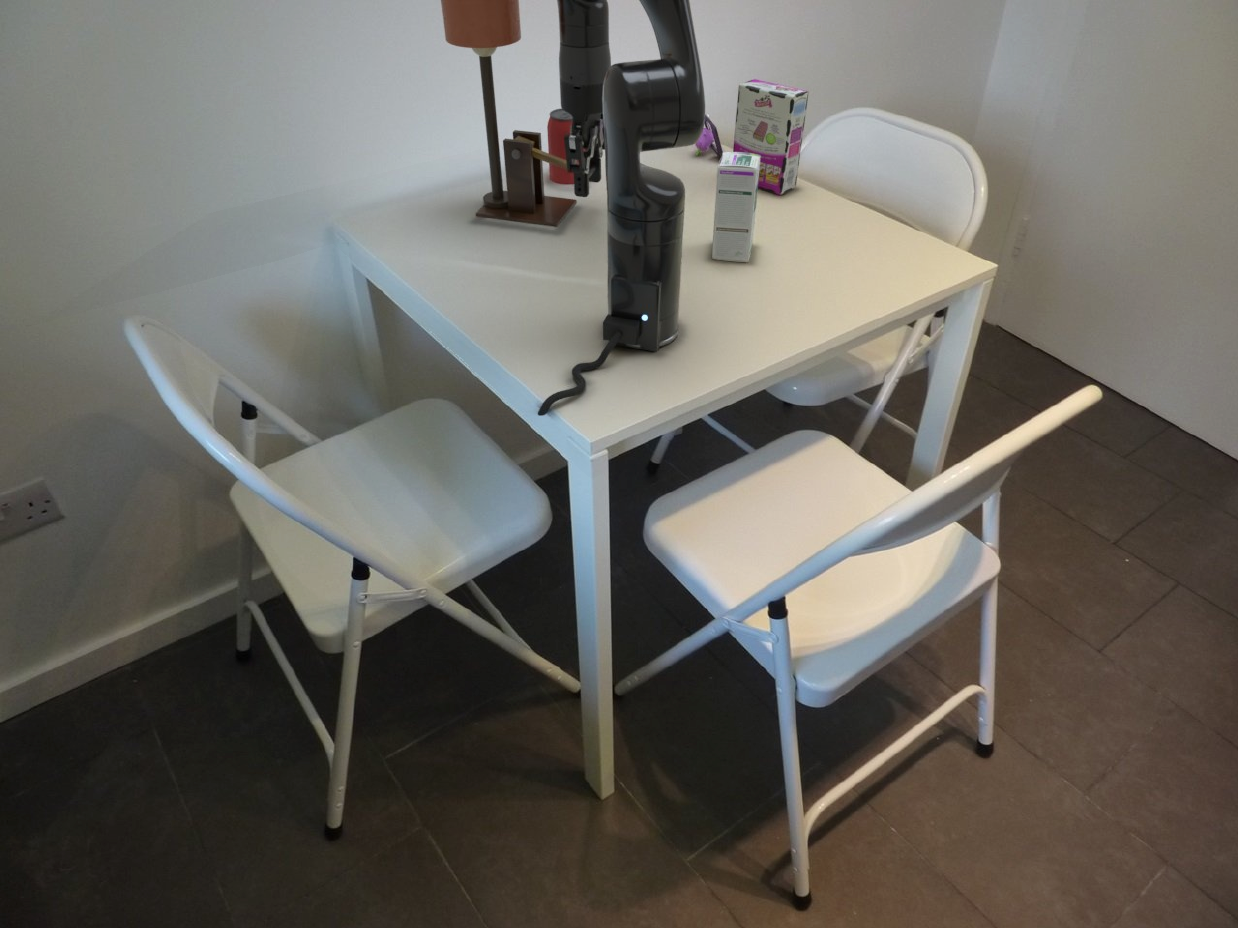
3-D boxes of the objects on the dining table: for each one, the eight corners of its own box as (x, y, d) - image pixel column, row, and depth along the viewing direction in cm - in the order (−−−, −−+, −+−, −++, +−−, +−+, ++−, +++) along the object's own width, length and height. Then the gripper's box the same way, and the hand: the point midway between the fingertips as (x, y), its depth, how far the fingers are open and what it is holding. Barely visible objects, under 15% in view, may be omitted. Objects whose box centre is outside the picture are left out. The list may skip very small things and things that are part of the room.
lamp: (517, 220, 134) (499, -5, 113) (454, 211, 136) (425, -11, 116) (541, 194, 142) (529, -21, 121) (481, 186, 144) (459, -26, 124)
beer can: (544, 187, 148) (540, 117, 140) (557, 174, 153) (554, 105, 145) (579, 192, 147) (577, 121, 139) (591, 178, 151) (590, 109, 144)
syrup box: (749, 263, 126) (759, 167, 117) (709, 259, 127) (717, 164, 118) (752, 246, 130) (762, 153, 121) (714, 243, 131) (721, 150, 122)
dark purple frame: (720, 125, 153) (706, 110, 160) (693, 137, 154) (681, 121, 160) (728, 159, 158) (715, 143, 164) (702, 170, 158) (690, 153, 165)
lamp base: (577, 208, 141) (574, 130, 133) (557, 233, 134) (553, 152, 126) (500, 198, 144) (493, 122, 136) (476, 222, 137) (467, 142, 129)
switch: (594, 175, 134) (598, 161, 133) (584, 188, 130) (587, 174, 129) (519, 146, 135) (522, 132, 133) (506, 158, 131) (509, 143, 129)
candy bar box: (797, 188, 148) (811, 90, 138) (781, 196, 145) (793, 97, 135) (745, 172, 154) (754, 77, 143) (729, 179, 151) (737, 83, 140)
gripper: (576, 60, 128) (580, 170, 139) (543, 87, 118) (550, 203, 129) (623, 64, 127) (623, 175, 138) (594, 91, 116) (596, 209, 127)
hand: (588, 188), depth 133 cm, fingers closed on switch, 5 cm apart
